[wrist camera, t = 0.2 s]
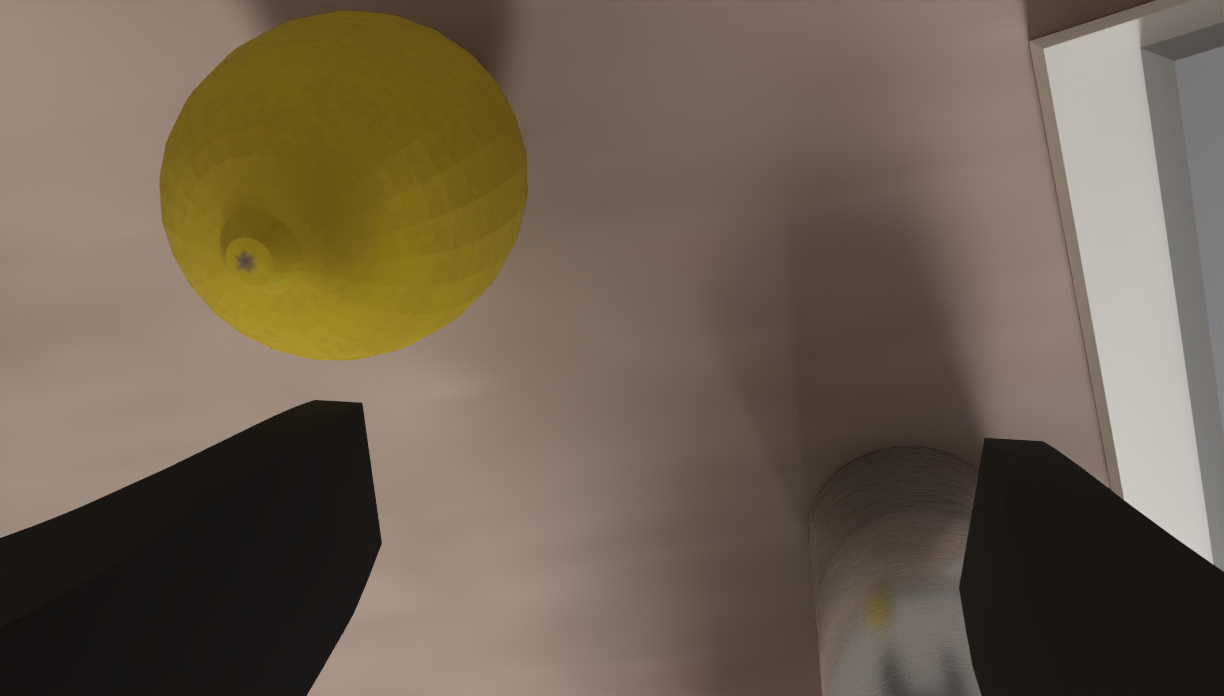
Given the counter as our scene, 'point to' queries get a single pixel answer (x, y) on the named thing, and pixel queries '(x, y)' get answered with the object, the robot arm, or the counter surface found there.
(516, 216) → the lemon
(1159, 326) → the grey rectangular tray
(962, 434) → the counter surface
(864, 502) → the cylinder
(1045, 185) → the counter surface
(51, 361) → the counter surface
